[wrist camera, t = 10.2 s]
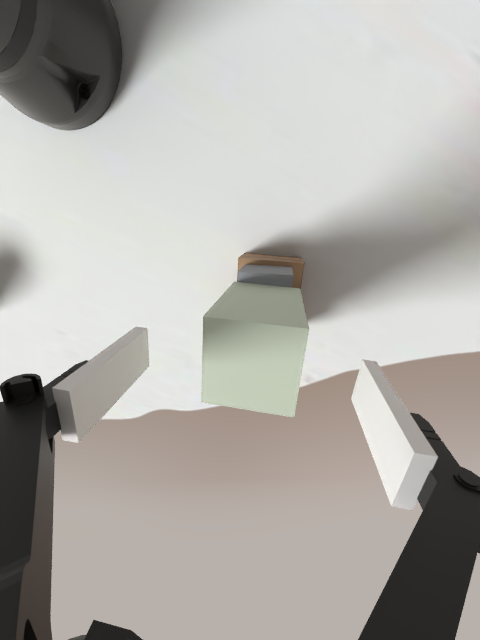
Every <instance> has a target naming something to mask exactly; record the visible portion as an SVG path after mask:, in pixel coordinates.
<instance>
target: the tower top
mask: <svg viewBox="0 0 480 640" xmlns="http://www.w3.org/2000/svg"><path fill="white" fill-rule="evenodd" d="M238 282H242V283H252V284H262V285H271V286H281V287H291V288H292V284H293V269H292V267H286V266H269V265H251V264H245V265H244V266H243V267H242V268H241V269H240V270H239V271H238Z"/></svg>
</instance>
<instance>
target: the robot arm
mask: <svg viewBox="0 0 480 640" xmlns="http://www.w3.org/2000/svg"><path fill="white" fill-rule="evenodd" d="M120 70H121V41H120V34H119V28H118V24H117V20H116V17H115V13H114V11H113V8H112V5H111V3H110V1H109V0H0V95H1V96H2V97H4V98H5V99H6V100H7V101H8V102H10V103H11V104H12V105H13V106H14V107H15V108H17V109H18V110H19V111H20V112H22V113H23V114H25V115H27V116H28V117H30V118H32V119H34V120H36V121H38V122H41V123H43V124H46V125H48V126H51V127H53V128H57V129H61V130H76V129H80V128H84V127H86V126H88V125H90V124H92V123H93V122H95V121H96V120H97V119H98V118H99V117H100V116H101V115H102V114H103V113H104V112H105V110H106V109H107V108H108V106H109V104H110V103H111V101H112V99H113V96H114V94H115V91H116V89H117V85H118V81H119V77H120ZM148 367H149V353H148V331H147V328H141V327H135V328H134V329H132V330H131V331H129V332H128V333H127V334H125V335H124V336H123V337H121V338H120V339H118V340H117V341H116V342H114V343H113V344H112V345H110V346H109V347H108V348H106V349H105V350H103V351H102V352H101V353H99V354H98V355H97V356H95V357H94V358H92V359H91V360H90V361H83V362H81V363H78V364H76V365H74V366H73V367H71V368H70V369H69V370H68V371H66V372H64V373H63V374H61V376H59V377H57V378H56V379H54V380H53V381H51V382H50V383H49V384H47V385H46V386H44V387H43V386H42V382H41V378H40V376H39V375H37V374H22V375H18V376H15V377H12V378H10V379H8V380H6V381H5V382H3V383H2V384H1V385H0V391H1V394H2V398H3V401H4V402H0V640H52V633H51V622H50V608H51V607H50V606H51V605H50V604H51V570H52V533H53V528H52V527H53V493H54V456H55V440H54V435H55V434H56V433H57V432H58V431H59V430H61V433H62V438H63V440H67V441H71V442H76V443H79V442H80V441H81V440H82V439H83V438H84V437H85V435H86V434H87V433H88V432H89V431H90V430H91V429H92V428H93V427H94V425H96V424H97V422H98V421H99V420H100V419H101V418H102V417H103V416H104V415H105V414H106V413H107V412H108V410H109V409H110V408H111V407H112V406H113V405H114V404H115V403H116V402H117V401H118V400H119V398H120V397H121V396H122V395H123V394H124V393H125V392H126V391H127V390H128V389H129V388H130V386H131V385H132V384H133V383H134V382H135V381H136V380H137V379H138V378H139V377H140V376H141V374H142V373H143V372H144V371H145V370H146V369H147V368H148ZM351 399H352V402H353V405H354V407H355V410H356V413H357V415H358V418H359V421H360V423H361V426H362V429H363V432H364V434H365V437H366V440H367V442H368V445H369V448H370V450H371V453H372V456H373V458H374V461H375V464H376V466H377V469H378V472H379V474H380V477H381V480H382V482H383V485H384V488H385V490H386V493H387V496H388V498H389V501H390V504H391V506H393V507H398V508H403V509H408V510H413V508H414V506H415V504H416V502H417V500H418V501H419V503H420V505H421V507H422V509H423V512H422V514H421V516H420V518H419V520H418V522H417V524H416V526H415V528H414V530H413V532H412V534H411V536H410V538H409V540H408V542H407V544H406V546H405V547H404V550H403V552H402V553H401V555H400V558H399V559H398V562H397V564H396V565H395V568H394V569H393V571H392V573H391V575H390V577H389V580H388V581H387V583H386V585H385V587H384V589H383V591H382V593H381V596H380V597H379V599H378V601H377V603H376V605H375V607H374V609H373V611H372V613H371V615H370V617H369V619H368V621H367V623H366V625H365V627H364V629H363V631H362V633H361V635H360V637H359V639H358V640H455V637H456V633H457V629H458V625H459V621H460V617H461V614H462V610H463V606H464V602H465V598H466V594H467V590H468V586H469V583H470V579H471V575H472V571H473V567H474V563H475V560H476V556H477V552H478V553H480V477H478V476H477V475H475V474H474V473H473V472H471V471H469V470H467V469H465V468H463V467H460V466H459V464H458V463H457V461H456V460H455V459H454V458H453V456H452V454H451V453H450V451H449V450H448V449H447V447H446V446H445V445H444V443H443V442H442V441H441V439H440V437H439V436H438V435H437V434H436V433H435V430H434V429H433V428H432V426H431V425H430V424H429V422H427V421H426V420H425V419H424V418H423V417H421V416H420V415H419V414H415V413H409V411H408V410H407V409H406V407H405V405H404V404H403V402H402V400H401V399H400V397H399V396H398V394H397V393H396V391H395V390H394V388H393V387H392V385H391V384H390V382H389V381H388V379H387V377H386V376H385V374H384V373H383V371H382V370H381V368H380V366H379V365H378V363H377V362H375V361H369V360H362V363H361V367H360V370H359V374H358V377H357V381H356V384H355V388H354V391H353V395H352V398H351ZM69 640H142V639H141V638H140V637H139V636H137V635H136V634H135V633H134V632H132V631H131V630H128V629H124V628H121V627H117V626H113V625H110V624H106V623H103V622H99V621H96V620H93V622H92V625H91V627H90V629H89V631H88V633H87V635H81V636H78V637H75V638H71V639H69Z"/></svg>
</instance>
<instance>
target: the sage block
mask: <svg viewBox="0 0 480 640" xmlns="http://www.w3.org/2000/svg"><path fill="white" fill-rule="evenodd" d="M308 332H309V327H308V322H307V317H306V313H305V308H304V304H303V299H302V294H301V290H300V288H291V287H281V286H271V285H262V284H252V283H242V282H234V283H233V284H232V285H231V286H230V287H229V288H228V289H227V291H226V292H225V293H224V294H223V295H222V296H221V297H220V298H219V299H218V301H217V302H216V303H215V304H214V305H213V306H212V307H211V308H210V309H209V311H208V312H207V313H206V314H205V315H204V316H203V355H202V402H203V403H209V404H215V405H221V406H227V407H233V408H239V409H245V410H252V411H258V412H265V413H271V414H276V415H282V416H288V417H294V414H295V408H296V403H297V396H298V391H299V385H300V379H301V373H302V367H303V361H304V356H305V350H306V344H307V338H308Z"/></svg>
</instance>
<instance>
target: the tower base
mask: <svg viewBox="0 0 480 640" xmlns="http://www.w3.org/2000/svg"><path fill="white" fill-rule="evenodd" d="M245 264H251V265H269V266H286V267H292V269H293V284H292V288H300V289H301V282H302V275H303V268H304V262H303V260H302V258H298V257H286V256H274V255H262V254H250V253H244V254H243V255H241V256H240V257H239V258H238V271H239V270H240V269H241V268H242V267H243V266H244V265H245ZM237 282H238V274H237Z"/></svg>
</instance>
